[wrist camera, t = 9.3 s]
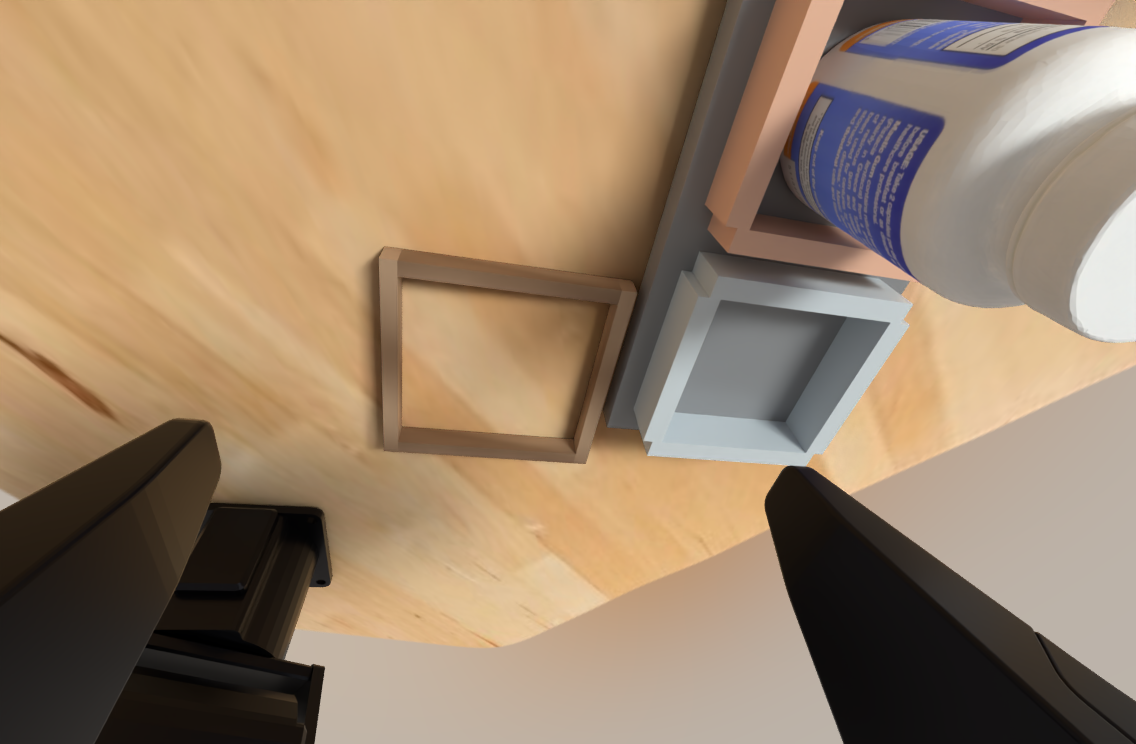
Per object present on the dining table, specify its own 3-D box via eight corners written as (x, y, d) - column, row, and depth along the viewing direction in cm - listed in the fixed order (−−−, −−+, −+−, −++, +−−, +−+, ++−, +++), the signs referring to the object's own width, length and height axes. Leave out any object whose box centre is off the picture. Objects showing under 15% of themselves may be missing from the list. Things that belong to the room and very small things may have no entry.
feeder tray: (583, 448, 25) (585, 463, 24) (388, 435, 23) (383, 451, 22) (632, 280, 20) (637, 292, 19) (384, 246, 18) (378, 258, 17)
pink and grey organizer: (794, 426, 25) (827, 474, 23) (603, 409, 23) (614, 460, 21) (1064, -19, 15) (1178, -22, 12) (761, -112, 13) (822, -139, 11)
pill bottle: (837, 238, 18) (1088, 422, 10) (738, 145, 16) (963, 290, 8) (982, 99, 16) (1449, 202, 8) (889, -35, 13) (1419, -75, 6)
